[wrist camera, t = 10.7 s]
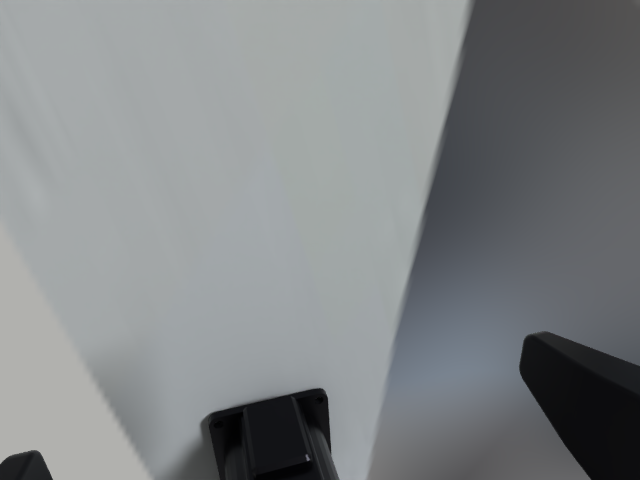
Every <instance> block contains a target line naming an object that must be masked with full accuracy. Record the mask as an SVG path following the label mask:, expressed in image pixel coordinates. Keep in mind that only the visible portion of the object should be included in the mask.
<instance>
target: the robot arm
mask: <svg viewBox="0 0 640 480" xmlns="http://www.w3.org/2000/svg"><path fill="white" fill-rule="evenodd" d="M519 370H520V374H521V376H522V379H523V380H524V382H525V384H526V385H527V387H528V388H529V390H530V391H531V393H532V395H533V396H534V398H535V399H536V401H537V402H538V404H539V406H540V407H541V409H542V410H543V412H544V413H545V415H546V417H547V418H548V420H549V421H550V423H551V424H552V426H553V427H554V429H555V431H556V432H557V434H558V435H559V437H560V438H561V440H562V441H563V443H564V444H565V446H566V447H567V448H568V450H569V451H570V452H571V454H572V455H573V457H574V458H575V459H576V461H577V462H578V463H579V464H580V466H581V467H582V468H583V470H584V471H585V472H586V474H587V475H588V476H589V477H590V479H591V480H640V366H638V365H635V364H632V363H630V362H627V361H625V360H622V359H619V358H616V357H614V356H611V355H609V354H606V353H603V352H600V351H598V350H595V349H593V348H590V347H587V346H584V345H582V344H579V343H576V342H574V341H571V340H569V339H565V338H563V337H561V336H558V335H555V334H553V333H550V332H546V331H542V332H538V333H533V334H529V335H527V336H526V337H525V339H524V342H523V347H522V353H521V359H520V365H519ZM318 397H320V398H319V399H316V398H318ZM217 421H221V422H220V423H216V422H217ZM209 429H210V434H211V438H212V443H213V448H214V452H215V457H216V461H217V466H218V471H219V475H220V480H339V477H338V474H337V471H336V468H335V465H334V462H333V460H332V457H331V441H330V425H329V409H328V397H327V395H326V392H325V390H323V389H321V388H319V389H313V390H309V391H305V392H300V393H296V394H292V395H288V396H283V397H279V398H275V399H271V400H267V401H262V402H258V403H254V404H250V405H245V406H241V407H237V408H233V409H228V410H224V411H220V412H216V413H214V414H212V415H211V416H210V418H209ZM0 480H53V479H52V477H51V474H50V472H49V470H48V468H47V465H46V463H45V461H44V459H43V457H42V455H41V453H40V452H38V451H36V450H32V451H28V452H23V453H19V454H15V455H12V456H9V457H8V458H6V459H5V460H4V461H3V462H2V463H1V464H0Z"/></svg>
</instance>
